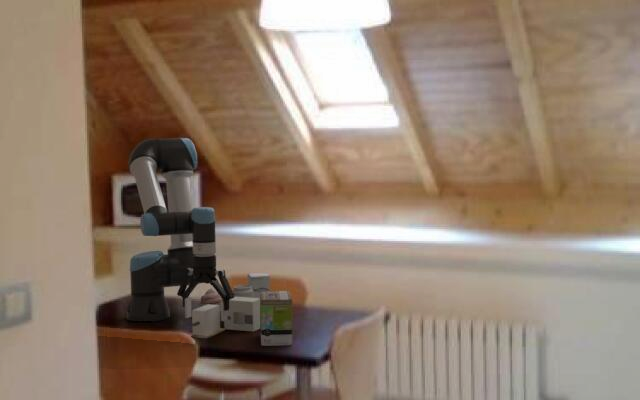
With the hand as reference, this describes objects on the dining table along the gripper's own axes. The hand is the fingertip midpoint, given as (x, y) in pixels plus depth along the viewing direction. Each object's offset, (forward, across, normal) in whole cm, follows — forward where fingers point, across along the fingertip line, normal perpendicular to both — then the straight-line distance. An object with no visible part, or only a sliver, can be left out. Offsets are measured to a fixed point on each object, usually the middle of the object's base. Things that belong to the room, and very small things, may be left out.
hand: (206, 318), depth 300 cm
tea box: (+5, +26, 0) cm, 26 cm away
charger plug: (+4, 0, 0) cm, 4 cm away
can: (+5, +2, +22) cm, 23 cm away
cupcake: (+5, -12, +24) cm, 27 cm away
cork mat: (+5, 0, 0) cm, 5 cm away
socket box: (+5, +8, +10) cm, 14 cm away
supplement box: (+5, -2, +42) cm, 42 cm away
